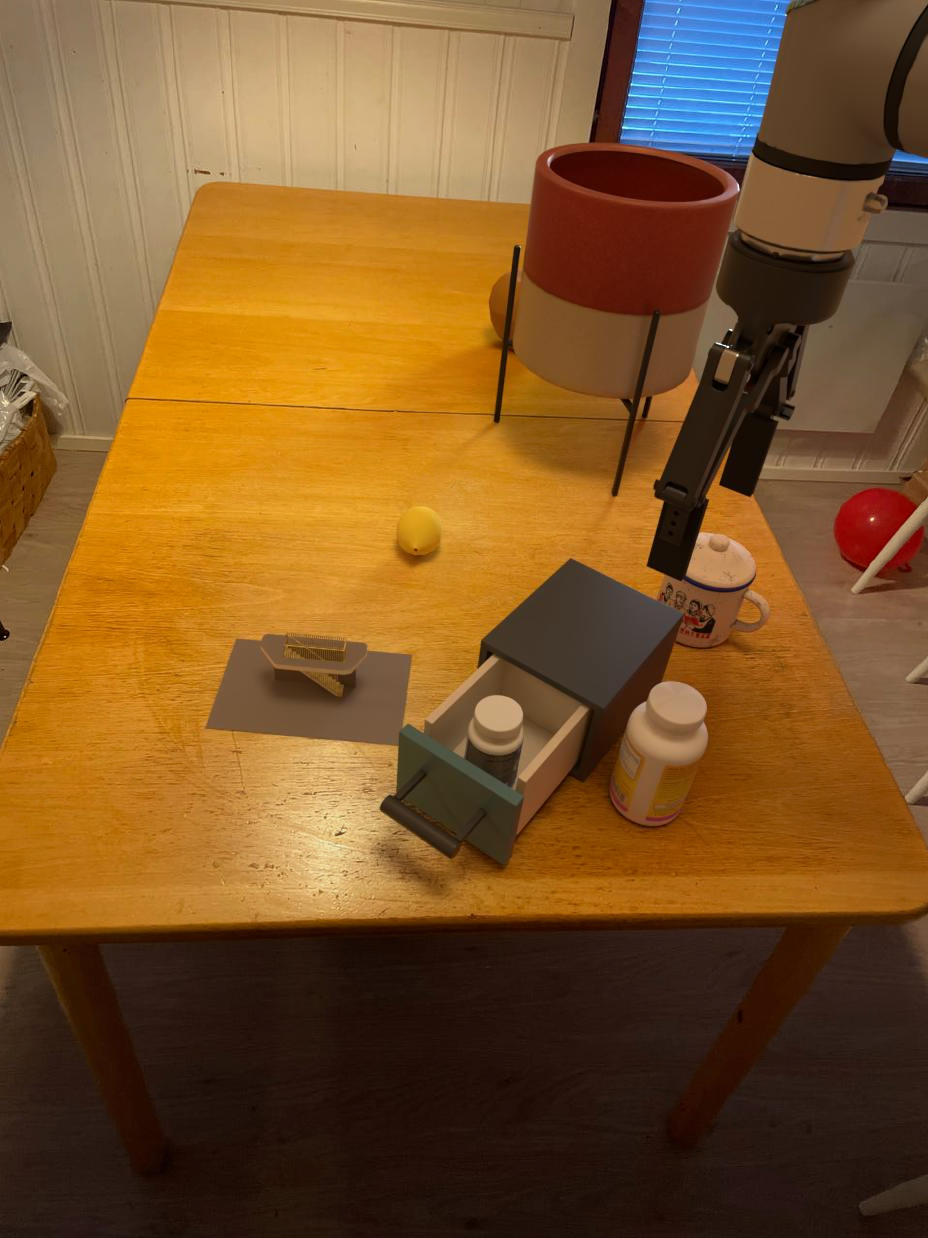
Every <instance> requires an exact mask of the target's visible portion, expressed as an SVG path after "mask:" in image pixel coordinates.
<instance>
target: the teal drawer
mask: <svg viewBox="0 0 928 1238" xmlns="http://www.w3.org/2000/svg"><path fill="white" fill-rule="evenodd" d="M477 668H478V667H477ZM477 668H476V670H474V672H473V673H472V674H471V675H469V677H468V678H467V679H466V680H464V681H463V682H462V683H461V684H460V685H459V686H458V687H457V688H455V690H454V691H452V692H451V694H450V695H448V696H447V698H445V699H444V700H443V701H442V702H441V703H440V704H439V705H438V706H437V707H436V708H435V709H434V710H433V711H432V712H431V713H430V714H429V715H428V716H426V717H425V718H424V723H423V724H424V725H423V731H421V730H420V729H419V728H417V727H415V726H414V725H412V724H410V723H406V725H404V726H403V727H402V729H401V730H400V731H399V743H398V745H397V768H396V786H395V787H396V788H395V794H394V795H392V794H387V796H385V797H384V798H383V800H382V801H381V803H380V806H379V811H380V812H381V813H382V814H384V815H385V816H387V817H388V818H390V819H391V820H393V821H394V822H395V823H396V824H398V825H400V826H401V827H403V828H404V829H405V830H407V831H409V832H410V833H411V834H413V835H414V836H416V837H417V838H418V839H420V840H422V841H423V842H425V843H426V844H427V845H429V846H430V847H432V848H433V849H435V850H436V851H438V852H439V853H440V854H442V855H443V856H445V857H446V858H448V859H449V860H453V859H455V858H456V857H457V856H458V855H459V853H460V851H461V849H462V846H463V842H464V841H466V842H468V843H469V844H471V845H472V846H474V847H475V848H476V849H478V850H479V851H481V852H483V853H484V854H486V855H487V856H489V857H490V858H492V860H495V861H496V862H497V863H499V864H500V865H502V866H506V864H507V863H508V862H509V860H510V859H511V858H512V856H513V851H514V848H515V842H516V837H517V836H518V835H519V834H520V833H521V831H522V830H523V829H524V827H526V825H527V824H528V822H530V820H531V819H532V818H533V817H534V815H535V814H536V813H537V812H538V811H539V809H540V808H541V807H542V806H543V805H544V803H545V802H546V801H547V799H549V798H550V796H551V795H552V794H553V793H554V792H555V790H556V789H557V787H559V785H560V784H561V783H562V782H563V780H564V779H565V778H566V776H568V775H569V774H568V773H569V772H570V770H571V769H572V768H573V767H574V765H575V764H576V763H577V762H578V761H579V759H580V758H581V757H582V755H583V751H584V747H585V744H586V740H587V736H588V733H589V729H590V725H591V722H592V718H593V714H594V711H595V710H593V709H591V708H589V707H587V706H586V705H584V704H582V703H580V702H579V701H577V700H575V699H573V698H571V697H570V696H568V695H566V694H564V693H563V692H561V691H559V690H557V689H555V688H554V687H552V686H550V685H548V684H547V683H545V682H543V681H541V680H540V679H538V678H536V677H534V676H532V675H531V674H529V673H527V672H525V671H524V670H522V669H520V668H518V667H516V666H515V665H513V664H511V663H509V662H508V661H506V660H504V659H502V658H500V657H499V656H497V655H495V654H493V655H492V656H491V657H490V658H489V659H488V660H487V661H486V662H485V663H484V664H483V665H481V666H480V667H479V668H478V669H477ZM493 695H500V696H505V697H509V698H511V699H513V700H514V701H516V702H517V703H518V704H519V705H520V707H521V709H522V711H523V722H522V727H523V730H524V740H523V745H522V750H521V755H520V760H519V765H518V771H517V776H516V780H515V783H514V785H513V787H512V788H510V787H509V786H507V785H505V784H504V783H502V782H501V781H499V780H497V779H496V778H494V777H493V776H491V775H489V774H488V773H486V772H485V771H483V770H482V769H480V768H478V767H477V766H475V765H474V764H472V763H470V762H469V761H467V760H466V759H464V757H465V749H466V742H467V731H468V726H469V724H470V722H471V720H472V719H473V718H474V713H475V708H476V706H477V704H478V703H479V702H480V701H481V700H482V699H484V698H486V697H489V696H493ZM403 800H405V801H407V802H409V803H410V804H412V805H413V806H415V808H417V809H419V810H420V811H422V812H423V813H424V814H426V815H428V816H429V817H431V818H432V819H434V820H435V821H437V822H438V823H439V824H441V825H443V826H444V827H446V828H447V829H449V830H450V831H451V832H453V833H455V834H456V835H455V836H453V835H451V834H450V833H448V831H446V830H444V829H443V828H441V827H440V826H438V825H437V824H435V823H434V822H432V821H431V820H429V819H428V818H427V817H425V816H423V815H422V814H420V813H419V812H418V811H416V810H415V809H413V808H411V807H410V806H408V805H407V804H406V803H404V802H403Z"/></svg>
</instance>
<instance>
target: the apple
mask: <svg viewBox="0 0 928 1238" xmlns="http://www.w3.org/2000/svg"><path fill="white" fill-rule="evenodd" d="M522 269H523V268H521V269H518V275H517V284H516V292H515V300H514V308H513V317H512V325H511V333H510V340H513V334H514V327H515V322H516V317H517V309H518V301H519V293H520V285H521V277H522ZM510 276H511V271H507V272H505V273H504V274H502V275H501V276H500V277H499V278H498V279H497V280H496V282H495V283H494V284H493V285H492V286H491V291H490V295H489V299H488V308H489V317H490V321H491V322H490V323H491V325H492V327H493V329H494V331H495V334H496V336H497V338H499V340H500V339H501V340H502V341H503V337H504V328H505V319H506V311H507V302H508V293H509V285H510ZM501 340H500V341H501ZM502 341H501V342H502ZM509 349H510V350H513V351H514V349H513V347H509Z"/></svg>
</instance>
